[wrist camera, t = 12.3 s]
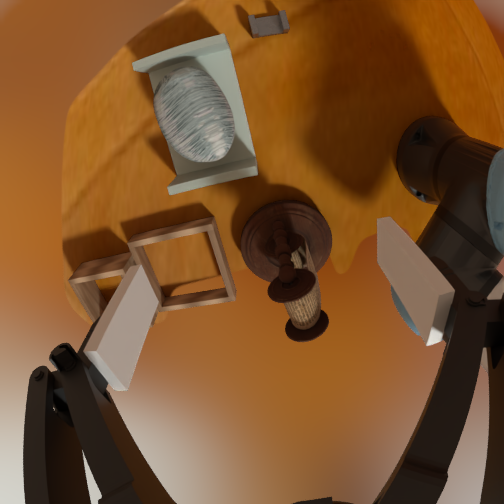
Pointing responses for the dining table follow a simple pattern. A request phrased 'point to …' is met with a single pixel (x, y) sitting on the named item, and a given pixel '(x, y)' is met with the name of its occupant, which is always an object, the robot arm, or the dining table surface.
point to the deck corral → (175, 232)
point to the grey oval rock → (194, 114)
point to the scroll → (290, 261)
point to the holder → (223, 72)
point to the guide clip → (269, 25)
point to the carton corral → (95, 270)
